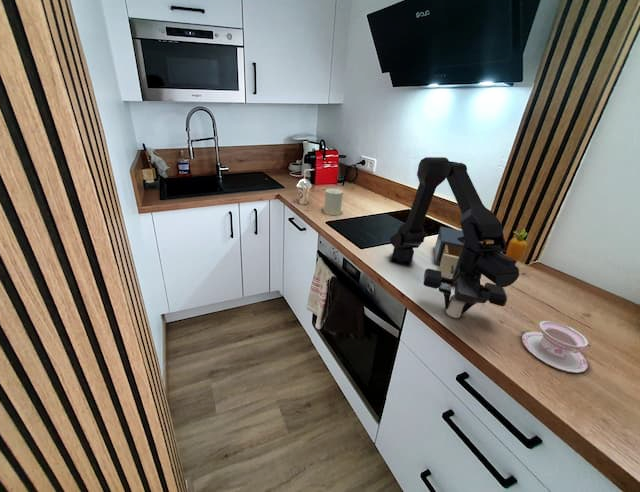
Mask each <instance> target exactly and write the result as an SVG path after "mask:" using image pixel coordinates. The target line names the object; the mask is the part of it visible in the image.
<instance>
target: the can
mask: <svg viewBox="0 0 640 492" xmlns="http://www.w3.org/2000/svg"><path fill="white" fill-rule="evenodd" d="M324 193H325V194H324V202H323V203H324V204H323V211H322V212H323V213H324V214H326V215H330V216H339V215H341V214H342V205H343V204H342V203H343V194H344V190H342V189H341V188H335V187H333V188H326V189H325V192H324Z"/></svg>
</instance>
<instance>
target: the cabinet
mask: <svg viewBox="0 0 640 492" xmlns="http://www.w3.org/2000/svg"><path fill="white" fill-rule="evenodd" d="M462 236H464V235H463V231H462V229H456V228H450V227H445V226H440V227H439V229H438V234H437V238H436V241H435V244H434V265H437V266H440V255H441V252H442V249H443V245H444V244H449V245H454V246H459V247H462V246H463V243H461V242H460V241H458V238H459V237H462ZM481 243H483V241H482V242H481Z"/></svg>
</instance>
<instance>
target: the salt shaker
mask: <svg viewBox="0 0 640 492" xmlns="http://www.w3.org/2000/svg"><path fill="white" fill-rule="evenodd" d="M464 305H465V302H463V301H457V300H456V299H455V298H454V294H452V295H450V300H449V306H448V308H447V309H445V313H446V314H447V315H448V316H449V317H450V318H454V319H459V318H460V317H461V316H462V314H461V313H462V310H463V307H464Z"/></svg>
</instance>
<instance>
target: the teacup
mask: <svg viewBox="0 0 640 492" xmlns="http://www.w3.org/2000/svg"><path fill="white" fill-rule="evenodd" d="M538 326H539V328H540V330H541V331H542V332H541V331H526V332H525V333H523V334H522V336H521V342H522V345H523V346H524V347H525V348H526V350H527V351H528V352H529V353H530V354H531V355H533V356H534V357H535V358H536V359H538V360H539V361H542V363H544V364H546V365H548V366H551V367H552V368H555V369H557V370H560V371H563V372H567V373H573V374H579V373H584V372H585V371H586V370H587V369H588V361H587V360H586V357H585V356H584V355H583V354H582V353H584V352H586V351H587V350H589V347H592V345H591V344H590V343H589V341H588V339H587V338H586V337H585V336H584V335H583V333H580V332H579V331H577V330H576V329H574V328H572V327H570V326H567V325H565V324H563V323H559V322H557V321H552V320H541V321H540V322H539V325H538Z"/></svg>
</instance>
